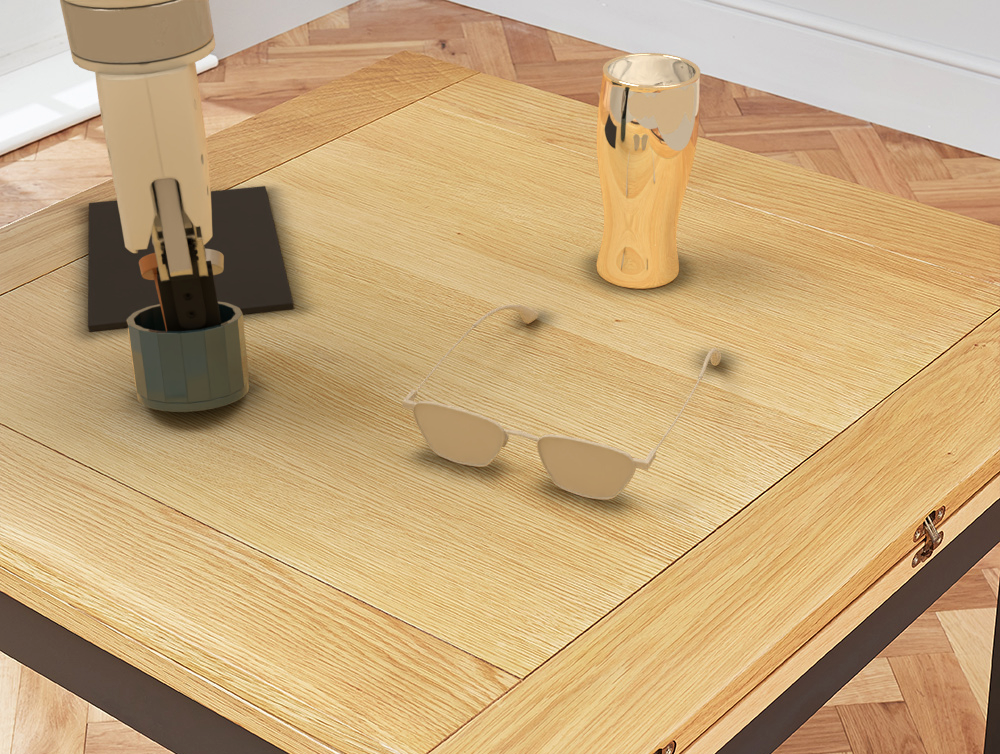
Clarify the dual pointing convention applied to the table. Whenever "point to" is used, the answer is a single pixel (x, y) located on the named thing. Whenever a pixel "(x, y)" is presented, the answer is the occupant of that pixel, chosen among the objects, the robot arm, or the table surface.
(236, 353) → the cup
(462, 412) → the eyeglasses
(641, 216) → the beer glass
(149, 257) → the orange disc-head peg
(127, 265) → the mat
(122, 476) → the table surface
